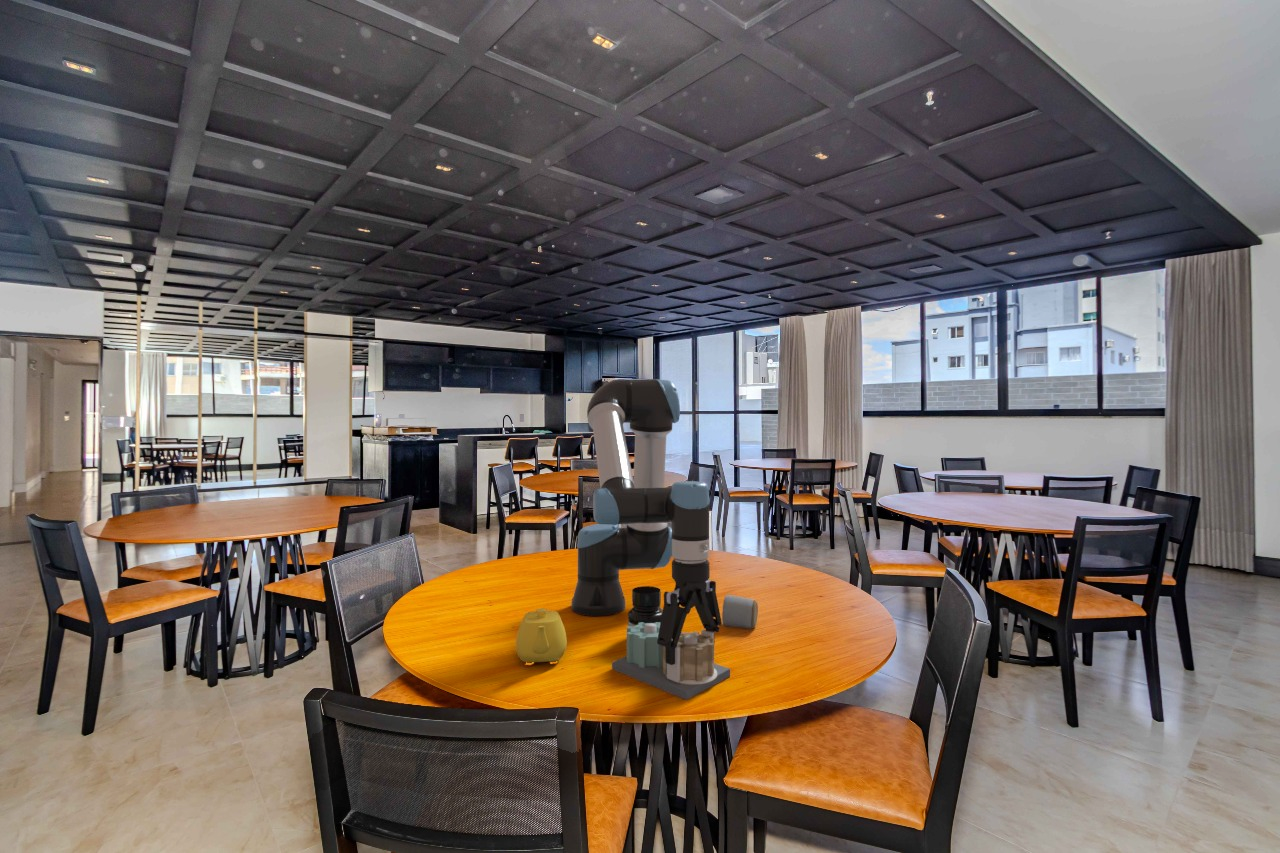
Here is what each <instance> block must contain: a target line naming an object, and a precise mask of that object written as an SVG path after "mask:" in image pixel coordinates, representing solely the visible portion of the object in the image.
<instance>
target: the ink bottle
mask: <svg viewBox="0 0 1280 853" xmlns="http://www.w3.org/2000/svg"><path fill="white" fill-rule="evenodd" d="M661 594H662V592H661V588H659V587H655V586H648V585H647V586H646V585H644V586H643V585H642V586H637V587H634V588H632V591H631V595H632V596H631V601H632V608H631V609H630V610H629V611H628V614H627V627H628V626H632V627H633V626H636V625H638V623H640V622H644V623H655V622H661V618H662V612H663V609H662V608H661V603H662V598H661V596H662V595H661Z"/></svg>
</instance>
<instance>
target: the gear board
mask: <svg viewBox="0 0 1280 853" xmlns="http://www.w3.org/2000/svg"><path fill="white" fill-rule="evenodd" d="M660 623H661V622H655V623H644V622H640V623H638V625H636V626H633V627H632V626H628V625H627V627H626V656H624V657H621V658H618V659H616V660H613V661H611V670H613V671H615V670H616V672H618V673H621V674H622V673H623V674H622V675H624V676H625V675H626V676H627V675H628V676H627V677H630V676H631V677H630V678H632V677H633V678H632V679H635V680H637V681H640V682H642V683H644V684H647V685H650V686H652V687H655V688H657V689H659V690H662V691H664V692H666V693H668V694H671V695H674V696H676V697H678V698H681V699H683V700H685V701H687V700H689V699H691V698H692V697H695V696H696V695H698V694H700V693H702V692H704V691H705V690H708V689H709V688H711V687H713V686H715V685H716V684H719V683H720V682H723V681H724V680H726V679H728V678H729V677H731V668H729V667H725V666H723V665H720V664H717V663H714V674H713V676H710V675H707V676H705V677H703V680H702V681H696V680H695V679H683V681H679V682H675V681H673V680H670V679H668V678H667V675H665V674H664V673H663V646H662V645H659V644H658V643H657V640H658V634H659V629H660ZM696 643H697V637H696V636H686V637H684V644H696Z"/></svg>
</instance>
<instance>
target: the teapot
mask: <svg viewBox="0 0 1280 853" xmlns="http://www.w3.org/2000/svg"><path fill="white" fill-rule="evenodd" d="M515 640H516V641H515V651H516V653H517V655H518V657H519V659H520V660H521V661H522V662H524V663H525V662H527V663H532V662H534V663H544V662H548V661H549V662H556V661H558V662H559V660H560V659H561V658H562V657H563V656H564V654H565V652H566V649H567V644H568V640H567V633H566V629H565V625H564V623H563V621H562V618H561V616H560V613H559V612H557V611H556V610H548V609H546V608H544V607H541V608H537V609H535V611H534V610H533V611H529V612H528V611H527V613H525V614H524V616H523V618H522V620H521V622H520V624H519V627H518V631H517V634H516V639H515ZM549 662H548V663H549Z"/></svg>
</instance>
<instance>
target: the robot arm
mask: <svg viewBox="0 0 1280 853" xmlns="http://www.w3.org/2000/svg"><path fill="white" fill-rule="evenodd" d="M680 405H681V404H680V398H679V393H678V390H677V387H676V385H675V384H674V383H673V381H671V380H669V379H668V380H667V379H659V378H658V379H657V378H651V379H650V378H649V379H648V378H645V379H644V378H643V379H642V378H639V379H638V378H637V379H633V378H632V379H630V378H629V379H626V378H618V379H613V380H610V381H607V382H606V383H605V384H603V385H602V386H600V387H599V388H598V389H597V390H596V391H595V392H594V394H593V395H592V397H591V398H590V401H589V403H588V406H587V411H586V412H587V416H586V417H587V423H588V425H589V427H590V428H591V430H592V432H593V439H594V447H595V448H594V449H595V455H596V464H597V472H598V477H599V478H598V481H599V488H597V489H595V490H594V492H593V494H592V495H593V496H592V510H593V511H592V513H593V519H594V522H595V523H594V524H591V525H587V526H584V527H582V528H581V529H580V530H579V531H578V532H577V533H578V534H577V544H576V548H577V582H576V585H575V588H574V593H573V597H572V599H571V607H570V608H571V610H572V612H574V613H576V614H578V615H581V616H588V617H601V616H603V617H604V616H610V615H615V614H618V613H621V612H622V611H624V610H625V609H626V597H625V595H624V592H623V588H622V585H621V582H620V571H622V570H623V571H624V570H643V569H644V570H647V569H649V570H654V569H657V568H658V569H659V568H660V569H661V568H665V567H667V565H668V564H669V563H670V561H671V559H672V558H673V560H672V561H671V578H672V579H673V581H674V583H675V587H674V590H673V591H671V592H670V591H664V593H663V607H662V608H663V609H662V610H663V612H662V618H661V623H660V629H659V634H658V640H657V643H658V644H659V645H662V646H665V655H666V656H665V657H666V658H665V659H666V663H667V678H668V679H670V680H673V681H675V682H679V681H680V647H678V646H677V644H678V641H679V637H680V634H681V632H682V630H683V627H684V625H685V621H686V619H687V615H689V614H690V613H691V609H693V608H695V610H696V613H697V615H698V617H699V619H700V621H701V624H702V626H703V629H701V631H700V635H703V636H711V637H712V638H713V643H714V645H715V642H716V641H715V632H716V633H719V632H720V630H721V629H720V627H721V626H722V624H723V622H722V617H721V612H720V606H719V603H718V597H717V582H716V580H715V581H714V580H710V573H711V572H710V562H709V560H708V559H710V504H711V503H710V502H711V498H710V489H709V485H708V484H707V483H706V482H704V481H697V480H696V481H695V480H685V481H682V480H681V481H675V482H674V483H673V484H672V485H669V486H667V487H665V477H666V476H665V471H666V450H667V435H669V434H670V432H672V431H673V425H674V424H676V423H679V421H680V416H681V407H680ZM624 423H625V424H628V423H629V429H630V431H631V432H632V433H634V459H633V462H634V463H633V472H632V466H631V461H630V455H629V451H628V446H627V440H626V439H627V438H626V434H625V430H624V429H625V428H624ZM668 523H669V524H670V523H671V526H668ZM620 525H626V527H620ZM672 639H673V640H672Z"/></svg>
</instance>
